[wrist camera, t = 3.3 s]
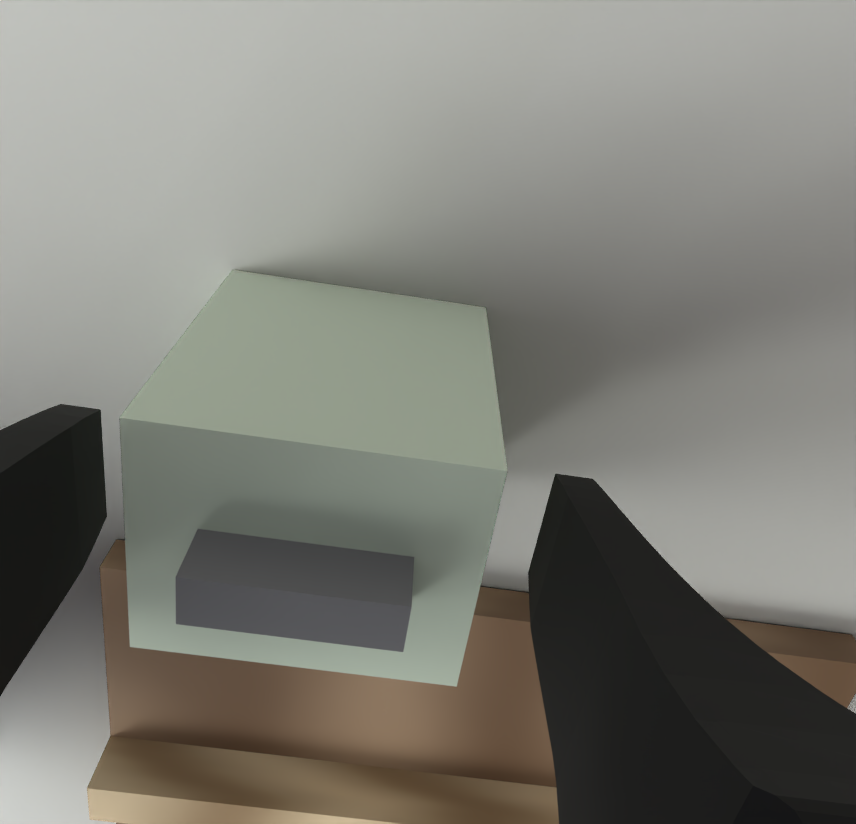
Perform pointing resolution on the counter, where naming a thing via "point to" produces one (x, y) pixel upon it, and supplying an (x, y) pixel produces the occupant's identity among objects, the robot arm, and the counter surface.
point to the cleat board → (354, 729)
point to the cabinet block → (315, 481)
